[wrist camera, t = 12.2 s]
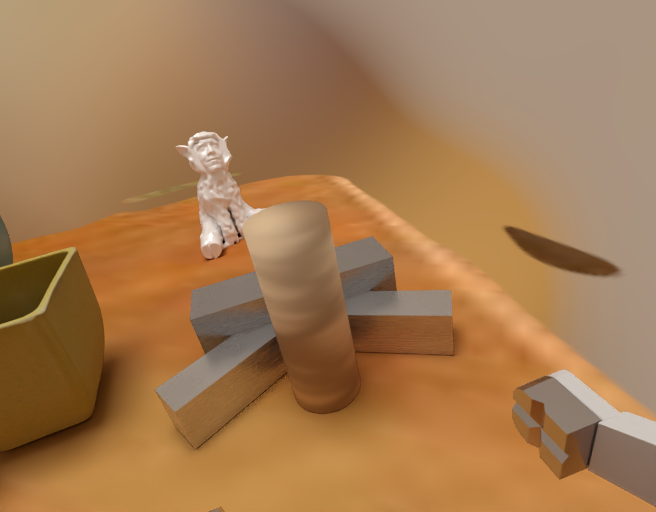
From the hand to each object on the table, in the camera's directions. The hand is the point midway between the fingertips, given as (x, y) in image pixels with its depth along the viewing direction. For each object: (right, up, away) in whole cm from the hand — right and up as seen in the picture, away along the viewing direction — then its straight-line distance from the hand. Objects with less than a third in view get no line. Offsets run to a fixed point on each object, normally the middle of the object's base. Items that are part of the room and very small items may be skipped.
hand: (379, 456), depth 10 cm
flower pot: (-19, -5, +16) cm, 25 cm away
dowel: (-1, -2, +13) cm, 13 cm away
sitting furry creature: (-13, +7, +36) cm, 39 cm away
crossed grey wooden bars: (-2, -1, +16) cm, 16 cm away
